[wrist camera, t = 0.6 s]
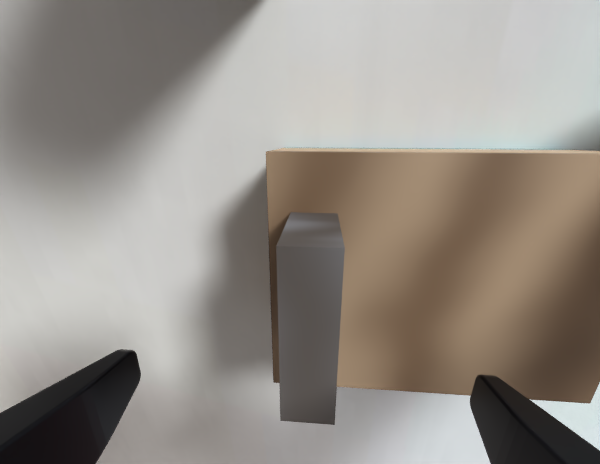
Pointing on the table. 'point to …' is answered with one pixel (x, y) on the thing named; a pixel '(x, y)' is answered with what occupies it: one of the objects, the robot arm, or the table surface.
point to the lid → (432, 274)
